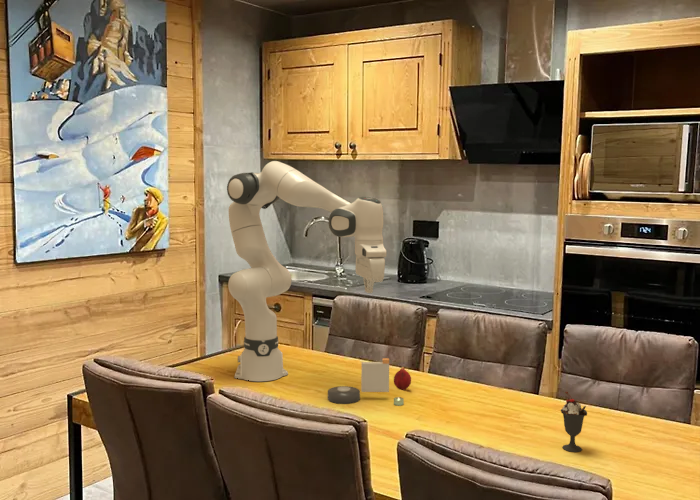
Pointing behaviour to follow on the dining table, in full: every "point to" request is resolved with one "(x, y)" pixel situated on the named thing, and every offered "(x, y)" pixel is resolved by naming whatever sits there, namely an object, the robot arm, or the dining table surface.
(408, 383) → the onion
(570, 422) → the sundae
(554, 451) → the dining table surface
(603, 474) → the dining table surface
